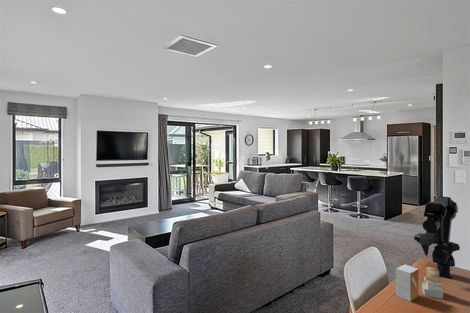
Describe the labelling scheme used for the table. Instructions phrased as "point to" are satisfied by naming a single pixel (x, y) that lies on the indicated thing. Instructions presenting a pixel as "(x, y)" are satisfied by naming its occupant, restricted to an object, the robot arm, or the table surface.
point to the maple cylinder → (432, 274)
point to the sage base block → (432, 292)
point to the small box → (407, 282)
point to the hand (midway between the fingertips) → (435, 258)
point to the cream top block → (433, 285)
